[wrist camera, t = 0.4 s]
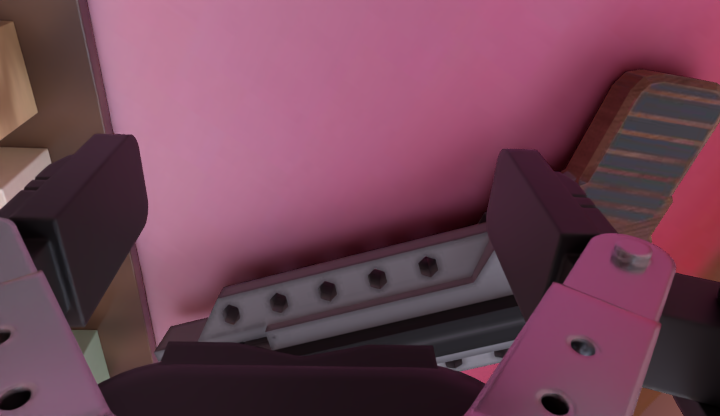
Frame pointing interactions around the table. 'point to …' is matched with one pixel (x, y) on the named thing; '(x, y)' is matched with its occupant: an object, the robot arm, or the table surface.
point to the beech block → (13, 83)
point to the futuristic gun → (471, 248)
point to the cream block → (19, 169)
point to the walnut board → (68, 134)
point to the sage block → (92, 353)
